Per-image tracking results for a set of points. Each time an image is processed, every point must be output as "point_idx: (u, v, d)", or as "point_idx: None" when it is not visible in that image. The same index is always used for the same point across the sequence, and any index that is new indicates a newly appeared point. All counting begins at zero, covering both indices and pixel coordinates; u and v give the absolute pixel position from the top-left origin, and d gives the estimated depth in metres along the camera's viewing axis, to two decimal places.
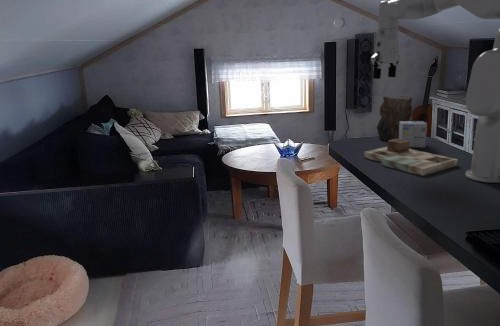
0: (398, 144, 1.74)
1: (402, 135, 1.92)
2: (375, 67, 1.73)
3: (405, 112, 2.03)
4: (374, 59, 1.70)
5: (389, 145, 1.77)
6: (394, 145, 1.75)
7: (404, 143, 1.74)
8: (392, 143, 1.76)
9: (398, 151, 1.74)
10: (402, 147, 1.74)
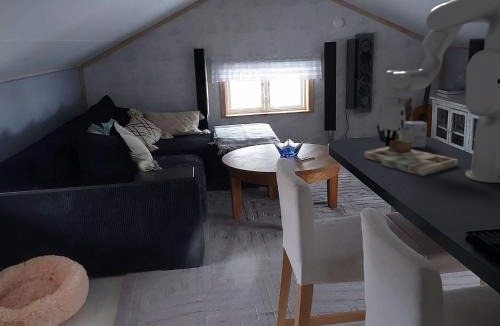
0: (400, 144, 1.73)
1: (402, 135, 1.92)
2: None
3: (405, 112, 2.03)
4: None
5: (391, 146, 1.77)
6: (396, 145, 1.74)
7: (406, 143, 1.74)
8: (394, 143, 1.75)
9: (400, 151, 1.73)
10: (404, 148, 1.73)
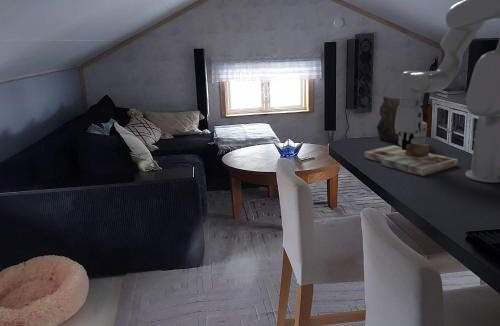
0: (418, 148, 1.66)
1: None
2: None
3: None
4: None
5: (407, 149, 1.70)
6: (413, 149, 1.68)
7: (424, 147, 1.67)
8: (411, 147, 1.69)
9: (418, 155, 1.67)
10: (421, 152, 1.67)
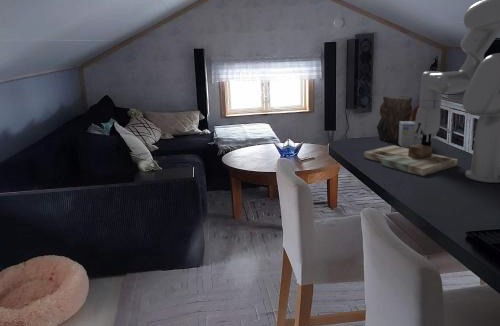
0: (421, 150, 1.64)
1: (402, 135, 1.92)
2: None
3: (405, 112, 2.03)
4: None
5: (410, 151, 1.68)
6: (416, 151, 1.65)
7: (427, 149, 1.65)
8: (414, 149, 1.66)
9: (420, 157, 1.64)
10: (424, 153, 1.64)
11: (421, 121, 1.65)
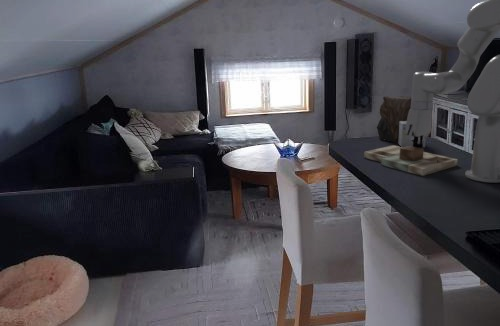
0: (412, 152, 1.61)
1: (402, 135, 1.92)
2: None
3: (405, 112, 2.03)
4: None
5: (401, 153, 1.65)
6: (407, 153, 1.63)
7: (418, 151, 1.62)
8: (405, 151, 1.63)
9: (412, 160, 1.62)
10: (416, 156, 1.62)
11: (412, 123, 1.62)
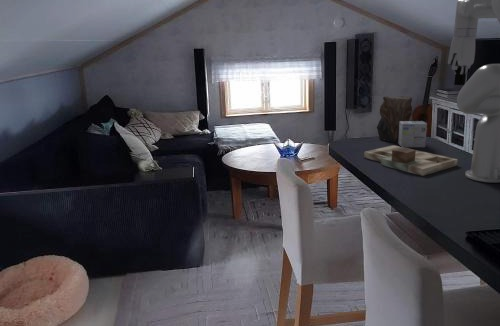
0: (404, 154, 1.59)
1: (402, 135, 1.92)
2: None
3: (405, 112, 2.03)
4: None
5: (393, 155, 1.62)
6: (400, 155, 1.60)
7: (410, 153, 1.60)
8: (397, 153, 1.61)
9: (404, 161, 1.59)
10: (408, 157, 1.59)
11: (456, 51, 1.58)
